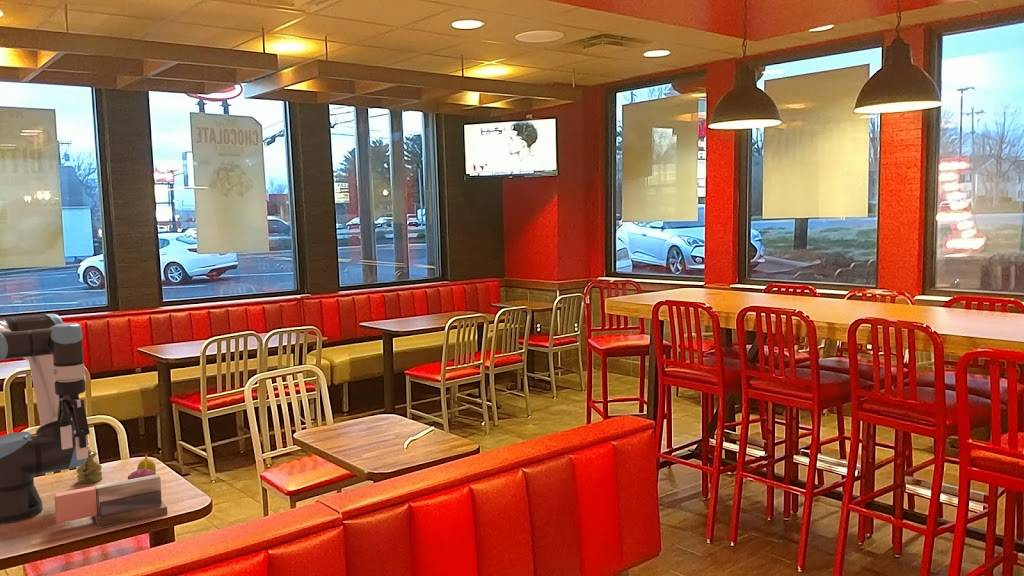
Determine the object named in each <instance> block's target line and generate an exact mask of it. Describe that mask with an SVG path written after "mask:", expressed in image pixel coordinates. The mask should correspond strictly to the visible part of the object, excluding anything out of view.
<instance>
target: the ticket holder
mask: <svg viewBox="0 0 1024 576" xmlns="http://www.w3.org/2000/svg"><path fill="white" fill-rule="evenodd" d="M161 479H162V478H161V475H160V474H159V473H156V475H151V476H145V477H140V478H135V479H129V480H128V479H124V480H118V481H114V482H113V481H112V482H109V483H104V484H103V483H102V484H98V485H95V486H94V487H95V489H96V502H97V515H96V516H93V518H94V519H95V522H96V524H97V525H98V528H99V529H101V528H106V527H111V526H116V525H120V524H126V523H129V522H134V521H138V520H139V521H140V520H143V519H148V518H149V519H150V518H152V517H157V516H158V517H159V516H162V515H167V514H168V506H167V505H166V504H165V502H164V501H163V500H162V483H161Z"/></svg>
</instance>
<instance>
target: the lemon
mask: <svg viewBox="0 0 1024 576" xmlns="http://www.w3.org/2000/svg"><path fill="white" fill-rule="evenodd" d="M144 464H145V458H143V459H142V460H141V461H139V462H138V464H137V468H136V469H137V470H139V469H144ZM146 469H151V470H153V471H154V472H157V469H156V464H155V462H154V461H153V459H150V458H147V467H146Z"/></svg>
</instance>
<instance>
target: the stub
mask: <svg viewBox="0 0 1024 576" xmlns="http://www.w3.org/2000/svg"><path fill="white" fill-rule="evenodd" d="M54 509H55V521H56V523H57V524H62V523H65V522H71V521H75V520H80V519H85V518H90V517H94V516H96V515H97V502H96V489H95V486H94V485H93V486H88V487H82V488H78V489H72V490H71V489H70V490H66V491H60V492H55V493H54Z"/></svg>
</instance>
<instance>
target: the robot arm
mask: <svg viewBox="0 0 1024 576" xmlns="http://www.w3.org/2000/svg"><path fill="white" fill-rule="evenodd" d="M83 338H84V334H83V330H82V325H80V324H79V323H76V322H67V323H66V322H65V323H64V321H63V319H62V318H61V316H59V315H58V314H56V313H40V314H30V315H29V314H28V315H15V316H4V317H0V362H1V361H4V360H5V361H6V360H13V359H14V360H15V359H21V358H22V359H23V360H25V361H27V362H28V363H29V368H30V369H29V370H30V374H31V380H32V385H33V390H34V396H35V401H36V407H37V412H38V419H39V422H40V424H39V425H40V426H39V427H37V429H36V432H35V434H36V435H32V434H31V433H30V432H29V431H16V432H11V433H6V434H3V435H0V524H5V523H6V524H7V523H14V522H18V521H22V520H26V519H28V518H32V517H34V516H36V515H38V514H39V513H41V511H42V510H43V501H42V498H41V496H40V494H39V492H38V490H37V488H36V486H35V479H34V476H37V475H43V474H49V473H54V472H61V471H65V470H71V469H75V468H78V467H79V466H82V465H83V464H84V463H85V462H86V458H88V450H89V449H88V448H89V446H88V445H89V439H88V436H89V435H90V427H89V424H88V419H87V415H86V409H85V400H84V399H80V396H79V395H80V394H83V393H85V392H86V389H87V388H86V378H84V377H85V376H86V372H85V371H86V369H85V362H84V361H85V359H84V345H83V344H84V342H83Z"/></svg>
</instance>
